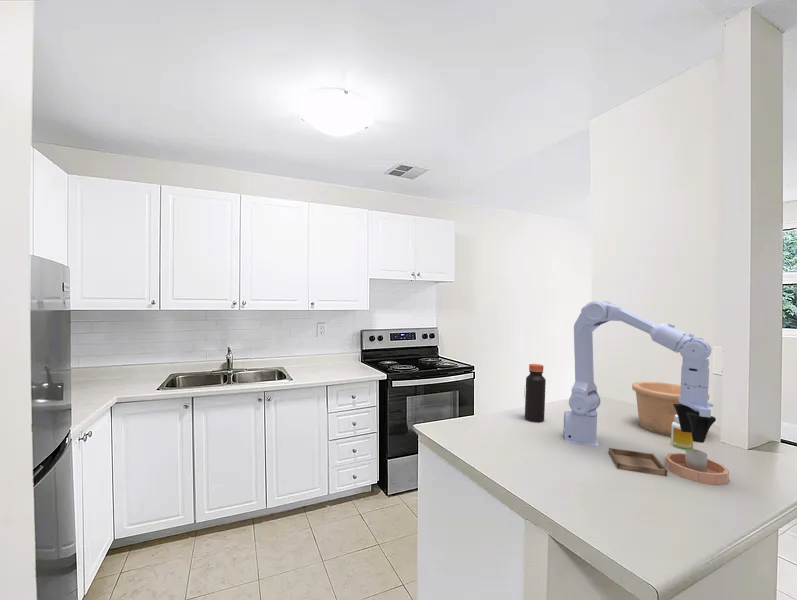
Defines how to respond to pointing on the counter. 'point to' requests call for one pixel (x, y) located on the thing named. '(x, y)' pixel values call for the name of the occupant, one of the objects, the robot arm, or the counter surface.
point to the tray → (637, 462)
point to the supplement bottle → (680, 436)
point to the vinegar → (535, 394)
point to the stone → (696, 460)
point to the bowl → (713, 476)
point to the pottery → (657, 405)
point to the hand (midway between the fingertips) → (692, 436)
